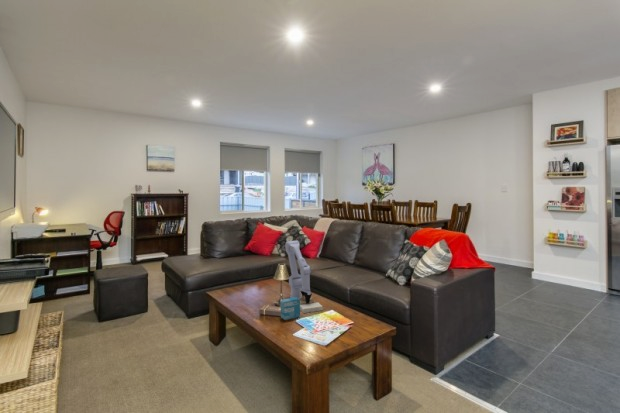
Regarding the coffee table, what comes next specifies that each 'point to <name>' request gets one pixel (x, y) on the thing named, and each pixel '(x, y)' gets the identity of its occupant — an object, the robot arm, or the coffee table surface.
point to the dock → (311, 307)
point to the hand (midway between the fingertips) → (306, 301)
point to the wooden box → (305, 301)
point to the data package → (290, 308)
